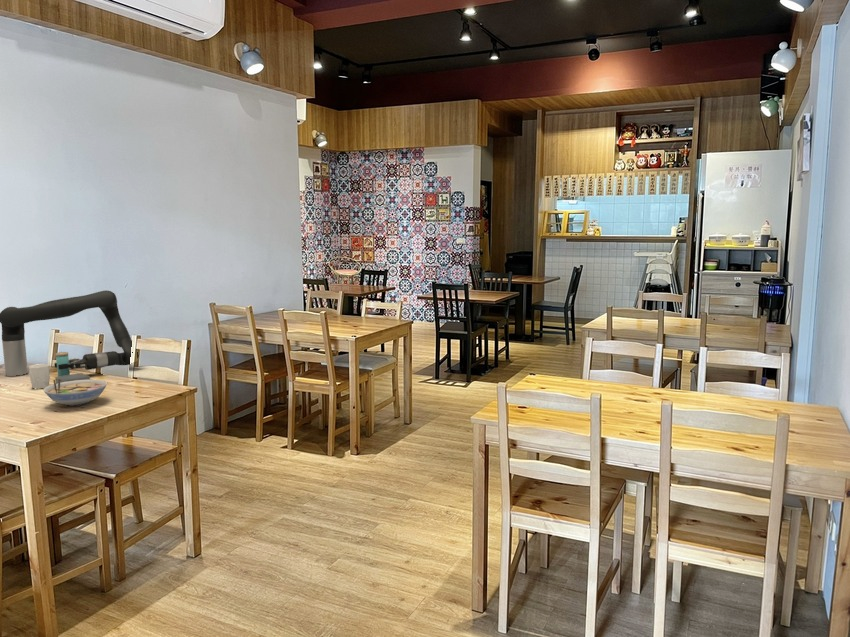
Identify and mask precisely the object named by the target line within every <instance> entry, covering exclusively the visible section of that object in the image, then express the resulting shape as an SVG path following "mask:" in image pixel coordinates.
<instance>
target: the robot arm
mask: <svg viewBox="0 0 850 637" xmlns="http://www.w3.org/2000/svg"><path fill="white" fill-rule="evenodd" d="M94 308H99V309H100V310H101V312H102V313H103V315H104V317H105V318H106V320H107V322H108V324H109V327H110V330H111V333H112V336H113V338H114V341H115V343H116V345H117V347H119V348H122V351H123V352H117V351H113V350H112V351H105V352H94V353H87V354H86V353H85V354H84V355H83V356H82V359H81V358H73V359H72V358H70V359H69V363H68V364H60V365H58V368H59V369H67V368H68V369H71V370H76V369H77V370H78V369H84V370H87V371H88V370H95V369H101V368H105V367H112V366H129V365H131V364H130V357H131V347H132V341H133V340H132V338H131V335H130V333H129V331H128V328H127V327H126V325H125V323H124V321H123V319H122V318H121V315H120V312H119V308H118V299H117V296H116V293H115V292H113V291H111V290H102V291H96V292H93V293H90V294H86V295H79V296H78V295H77V296H72V297H65V298H59V299H53V300H49V301H45V302H41V303H38V304H36V305H32V306H25V307H16V306H8V307H6V308H5V307H4V309H2V311H1V312H0V324H1V342H2V351H3V352H2V353H3V361H4V362H3V363H4V373H5V374H4V375H5V376H6V375H7V376H6V377H17V376H16V375H20V376H24V375H23V374H25V375H27V374H26V373H29V367H28V360H27V359H28V358H27V350H26V349H27V348H26V338H25V324H28V323H31V322H37V321H39V322H40V321H48V320H56V319H61V318H67V317H71V316H73V315H77V314H78V313H80V312H83V311H85V310H89V309H94ZM132 353H133V352H132ZM139 357H140V354H139V355H138V352H137V359H138V358H139ZM53 365H54V368H56V369H57V362H54V364H53Z"/></svg>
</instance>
